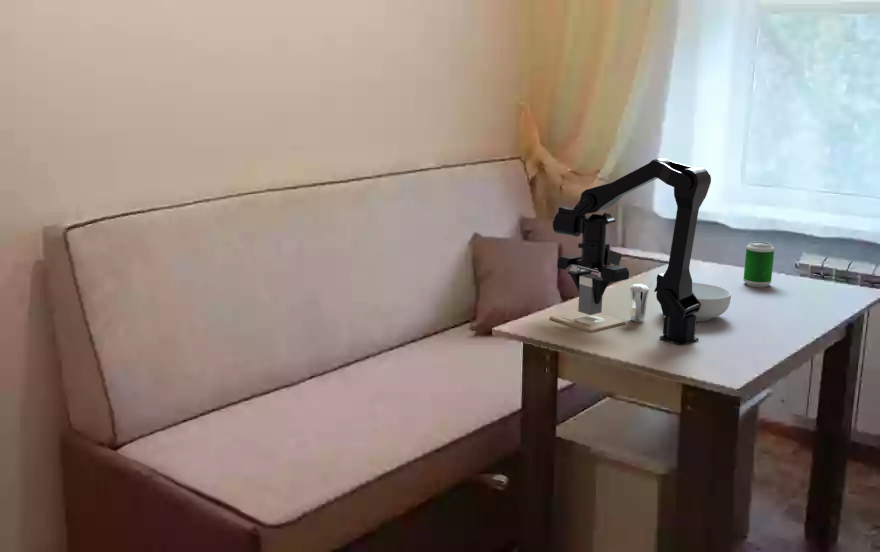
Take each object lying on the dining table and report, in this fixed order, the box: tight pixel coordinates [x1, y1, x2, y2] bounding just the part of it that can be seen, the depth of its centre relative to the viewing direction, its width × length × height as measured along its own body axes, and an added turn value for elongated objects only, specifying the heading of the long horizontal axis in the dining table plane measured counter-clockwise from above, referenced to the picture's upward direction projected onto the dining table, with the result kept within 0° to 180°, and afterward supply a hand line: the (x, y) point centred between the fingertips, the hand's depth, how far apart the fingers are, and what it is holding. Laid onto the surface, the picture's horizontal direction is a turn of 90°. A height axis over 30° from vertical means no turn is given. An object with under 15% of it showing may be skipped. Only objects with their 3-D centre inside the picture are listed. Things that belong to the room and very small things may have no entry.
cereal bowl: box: [692, 281, 732, 322], centre depth 240 cm, size 17×17×7 cm
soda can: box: [742, 241, 775, 288], centre depth 272 cm, size 8×8×12 cm
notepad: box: [549, 309, 626, 333], centre depth 235 cm, size 14×12×1 cm
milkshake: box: [629, 281, 654, 323], centre depth 235 cm, size 5×5×10 cm
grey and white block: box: [577, 273, 603, 315], centre depth 235 cm, size 4×4×9 cm
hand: (590, 301), depth 235 cm, fingers closed on grey and white block, 4 cm apart
